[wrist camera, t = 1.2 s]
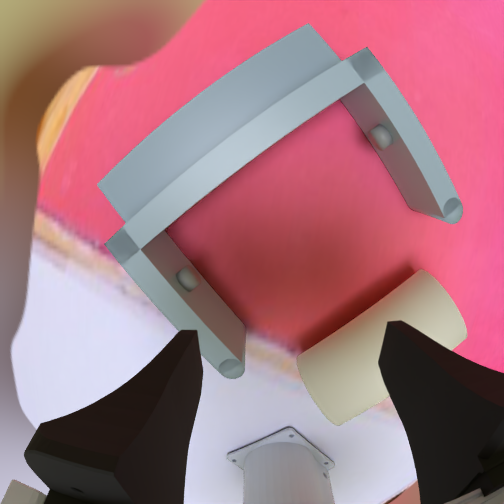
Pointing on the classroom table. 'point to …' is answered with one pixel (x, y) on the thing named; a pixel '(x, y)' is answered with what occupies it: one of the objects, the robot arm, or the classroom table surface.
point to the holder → (243, 152)
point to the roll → (375, 347)
